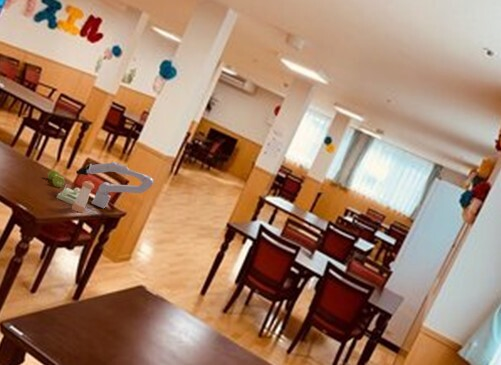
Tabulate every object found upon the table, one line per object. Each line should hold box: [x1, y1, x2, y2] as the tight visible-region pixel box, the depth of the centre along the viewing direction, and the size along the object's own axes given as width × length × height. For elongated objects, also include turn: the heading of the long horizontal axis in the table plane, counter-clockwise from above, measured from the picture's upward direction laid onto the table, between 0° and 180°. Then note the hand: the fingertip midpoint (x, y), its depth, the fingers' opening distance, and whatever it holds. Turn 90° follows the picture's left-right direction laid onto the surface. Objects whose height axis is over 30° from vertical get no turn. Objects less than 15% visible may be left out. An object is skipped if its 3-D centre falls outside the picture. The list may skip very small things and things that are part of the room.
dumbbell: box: [47, 169, 66, 188], centre depth 345 cm, size 16×8×7 cm, turn 38°
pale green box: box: [56, 183, 80, 205], centre depth 328 cm, size 14×24×10 cm, turn 8°
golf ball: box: [72, 187, 81, 194], centre depth 334 cm, size 4×4×4 cm
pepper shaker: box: [71, 180, 95, 213], centre depth 310 cm, size 7×7×19 cm
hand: (77, 171), depth 339 cm, fingers open, 7 cm apart
